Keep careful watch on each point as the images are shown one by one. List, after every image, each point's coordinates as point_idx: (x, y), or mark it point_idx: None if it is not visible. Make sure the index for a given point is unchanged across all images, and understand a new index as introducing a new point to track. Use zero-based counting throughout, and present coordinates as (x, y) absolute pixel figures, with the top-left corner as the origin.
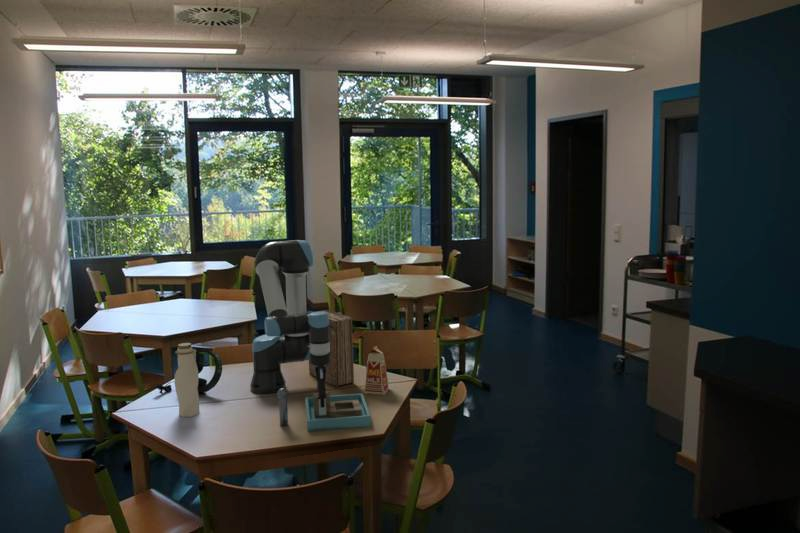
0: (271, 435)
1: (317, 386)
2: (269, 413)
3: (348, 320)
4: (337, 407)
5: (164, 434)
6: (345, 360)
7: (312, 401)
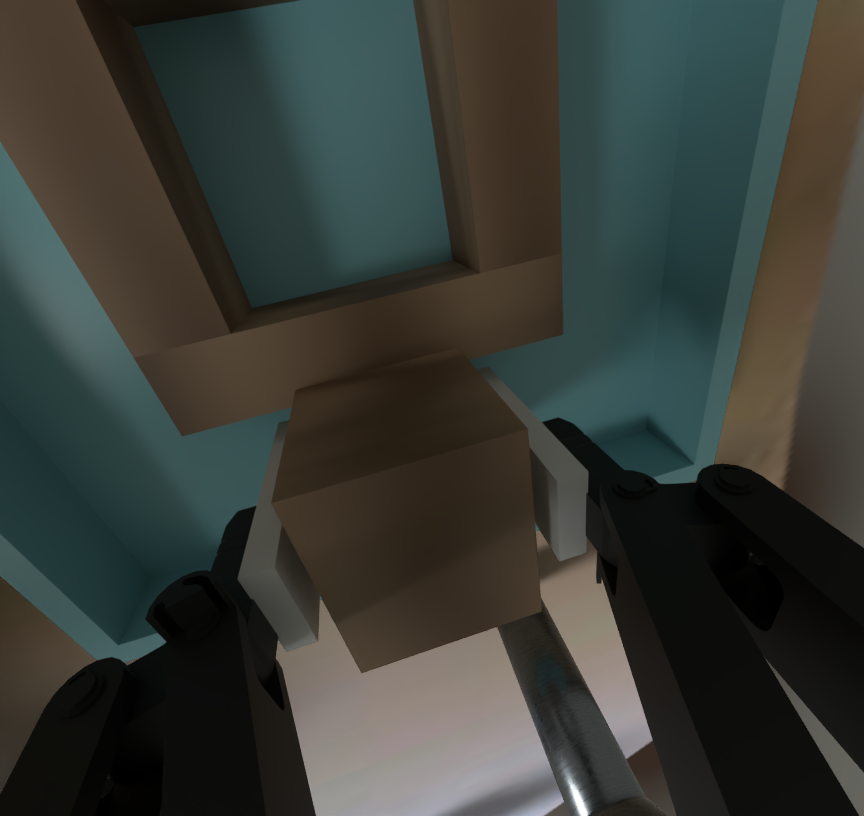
0: None
1: (161, 768)
2: (325, 697)
3: None
4: (227, 281)
5: (538, 812)
6: None
7: (110, 581)
